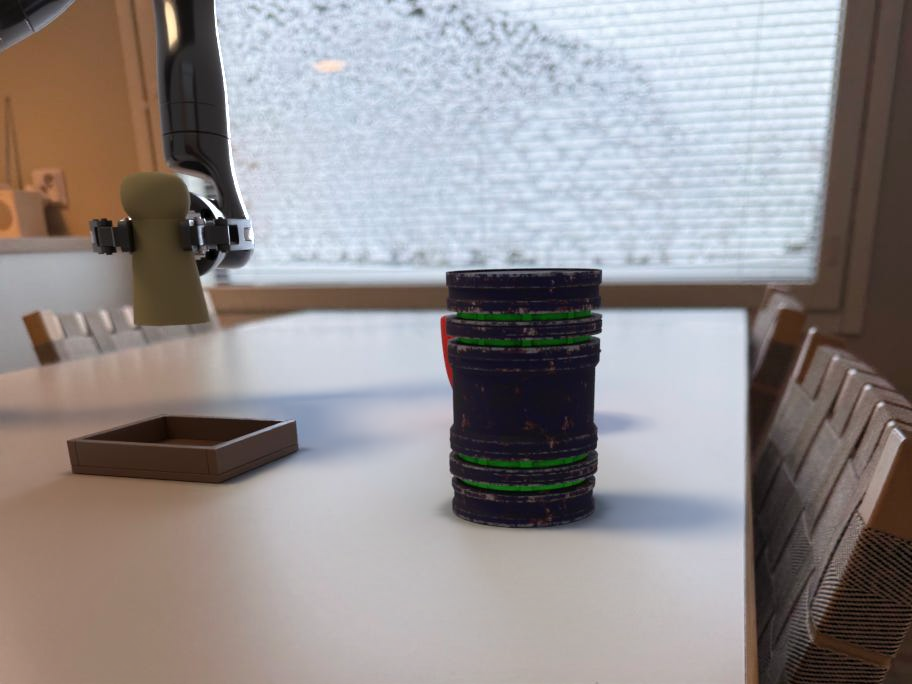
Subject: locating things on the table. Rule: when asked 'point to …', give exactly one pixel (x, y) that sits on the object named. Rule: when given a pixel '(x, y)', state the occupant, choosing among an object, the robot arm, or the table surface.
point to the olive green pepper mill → (162, 252)
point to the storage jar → (523, 394)
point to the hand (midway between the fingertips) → (155, 236)
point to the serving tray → (184, 447)
